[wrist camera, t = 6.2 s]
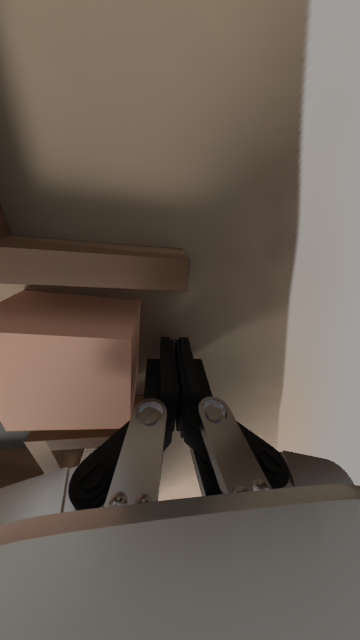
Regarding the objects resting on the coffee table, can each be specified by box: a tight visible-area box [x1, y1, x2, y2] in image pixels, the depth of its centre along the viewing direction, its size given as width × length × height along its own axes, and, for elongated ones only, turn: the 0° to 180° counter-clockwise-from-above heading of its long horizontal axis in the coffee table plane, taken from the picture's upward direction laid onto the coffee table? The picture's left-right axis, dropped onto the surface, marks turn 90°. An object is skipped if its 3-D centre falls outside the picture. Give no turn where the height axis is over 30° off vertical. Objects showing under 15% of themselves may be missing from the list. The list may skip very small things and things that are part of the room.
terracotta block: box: [0, 290, 141, 431], centre depth 9 cm, size 6×6×4 cm
